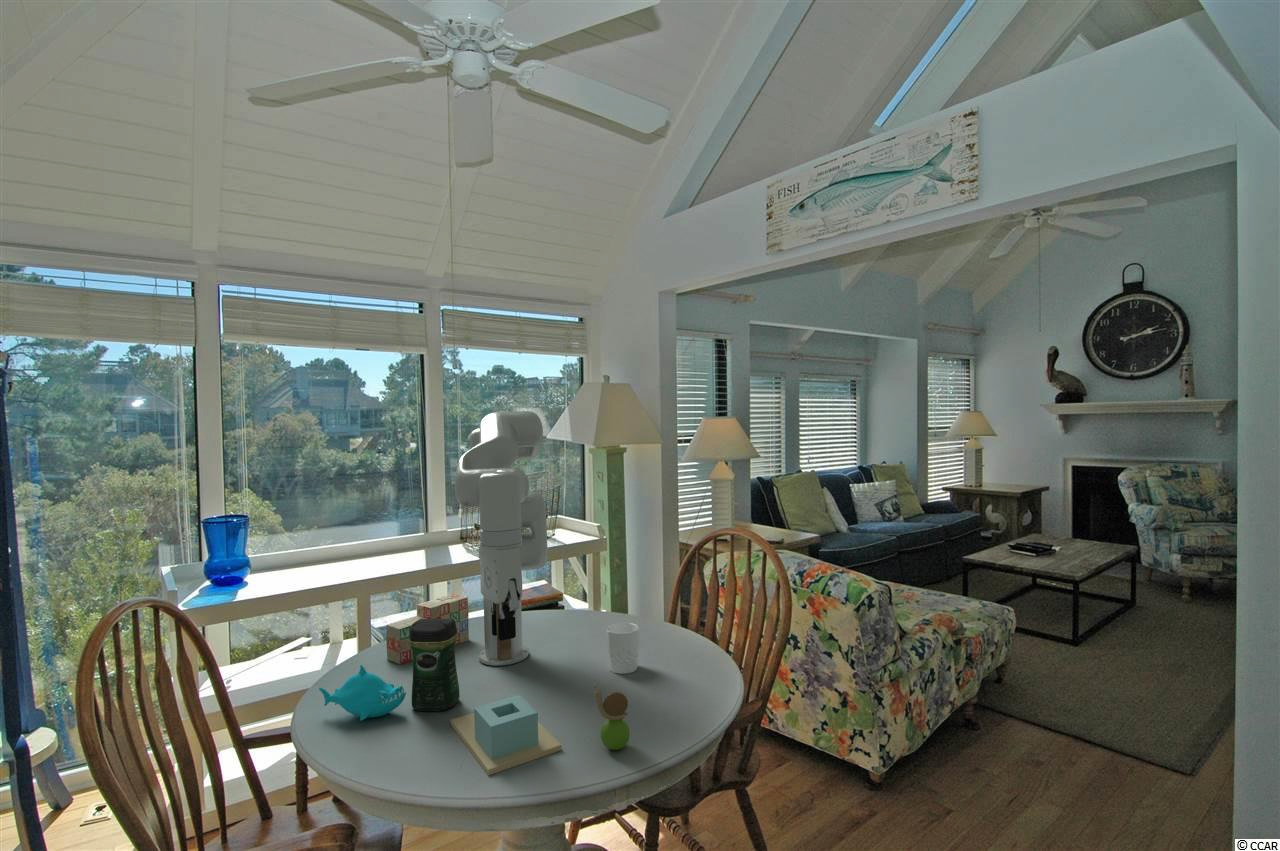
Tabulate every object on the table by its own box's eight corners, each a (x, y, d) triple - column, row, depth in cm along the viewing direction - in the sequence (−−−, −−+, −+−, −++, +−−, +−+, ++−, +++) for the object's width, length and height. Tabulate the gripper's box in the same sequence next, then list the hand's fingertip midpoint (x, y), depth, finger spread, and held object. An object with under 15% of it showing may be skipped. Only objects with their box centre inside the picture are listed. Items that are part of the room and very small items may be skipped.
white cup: (641, 662, 155) (640, 622, 155) (638, 675, 147) (637, 633, 147) (610, 662, 156) (609, 622, 156) (605, 675, 148) (604, 633, 148)
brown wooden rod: (495, 657, 116) (493, 582, 116) (508, 654, 118) (506, 580, 118) (500, 661, 114) (498, 585, 114) (514, 658, 116) (512, 583, 116)
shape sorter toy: (450, 724, 126) (449, 690, 125) (516, 705, 133) (515, 673, 133) (488, 775, 107) (487, 735, 107) (561, 749, 115) (560, 712, 115)
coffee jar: (464, 696, 138) (461, 613, 138) (450, 713, 130) (447, 625, 130) (422, 696, 139) (420, 613, 139) (405, 712, 131) (403, 625, 131)
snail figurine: (595, 741, 118) (593, 678, 117) (629, 739, 118) (627, 676, 118) (595, 757, 112) (593, 691, 112) (631, 754, 113) (629, 689, 113)
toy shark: (396, 726, 126) (395, 673, 125) (307, 728, 125) (305, 675, 125) (414, 704, 135) (412, 655, 135) (331, 706, 135) (329, 657, 135)
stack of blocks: (400, 665, 157) (398, 617, 157) (386, 660, 161) (385, 612, 161) (469, 640, 175) (468, 596, 174) (455, 635, 178) (454, 593, 178)
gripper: (467, 534, 121) (470, 629, 121) (497, 547, 107) (500, 653, 107) (504, 530, 125) (506, 621, 125) (537, 541, 111) (540, 644, 111)
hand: (503, 635), depth 116 cm, fingers closed on brown wooden rod, 2 cm apart
